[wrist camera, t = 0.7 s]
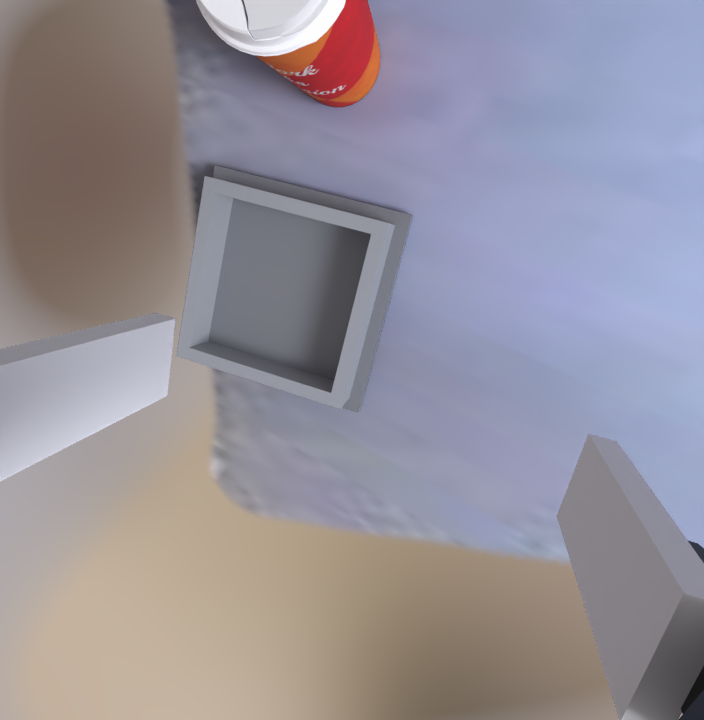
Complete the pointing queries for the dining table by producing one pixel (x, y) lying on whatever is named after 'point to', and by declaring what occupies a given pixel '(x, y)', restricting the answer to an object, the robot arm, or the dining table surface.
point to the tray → (290, 286)
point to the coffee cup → (305, 42)
